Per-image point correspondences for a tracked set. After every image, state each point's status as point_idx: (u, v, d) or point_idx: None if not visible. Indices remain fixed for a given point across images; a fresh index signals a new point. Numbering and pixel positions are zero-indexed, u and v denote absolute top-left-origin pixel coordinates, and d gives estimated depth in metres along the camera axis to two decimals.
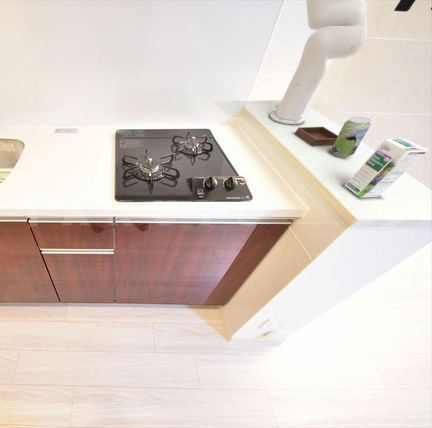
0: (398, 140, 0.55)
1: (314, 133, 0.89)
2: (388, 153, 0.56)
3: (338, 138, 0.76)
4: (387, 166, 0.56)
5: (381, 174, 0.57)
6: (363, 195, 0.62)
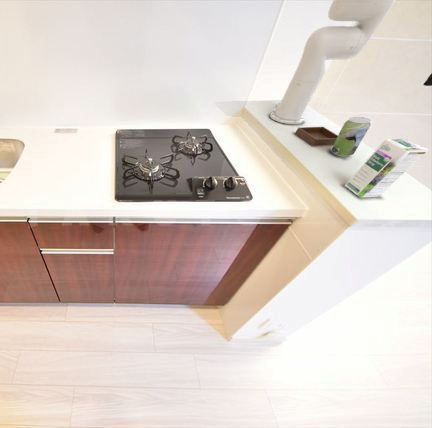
0: (398, 140, 0.55)
1: (314, 133, 0.89)
2: (388, 153, 0.56)
3: (338, 138, 0.76)
4: (387, 166, 0.56)
5: (381, 174, 0.57)
6: (363, 195, 0.62)
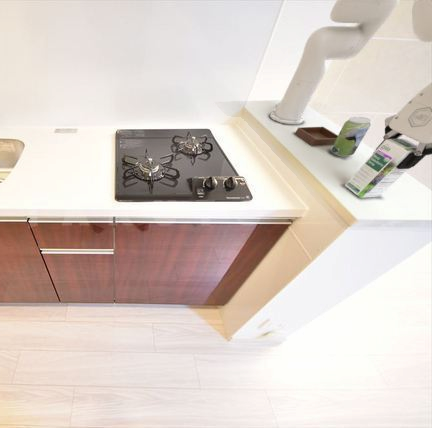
0: (398, 140, 0.55)
1: (314, 133, 0.89)
2: (388, 153, 0.56)
3: (338, 138, 0.76)
4: (387, 166, 0.56)
5: (381, 174, 0.57)
6: (363, 195, 0.62)
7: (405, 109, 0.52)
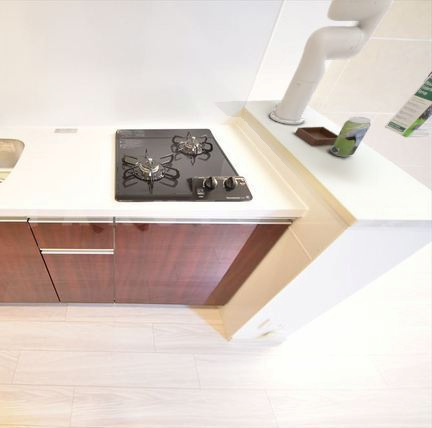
0: None
1: (314, 133, 0.89)
2: None
3: (338, 138, 0.76)
4: None
5: None
6: (410, 134, 0.52)
7: None
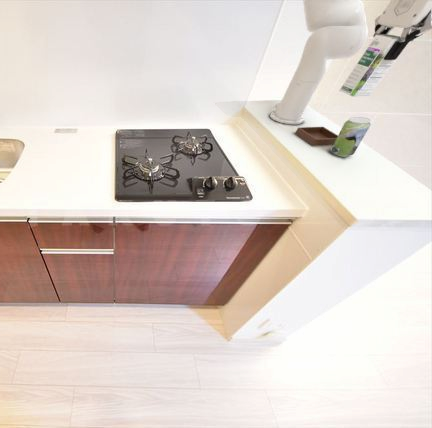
0: (386, 34, 0.63)
1: (314, 133, 0.89)
2: (377, 47, 0.63)
3: (338, 138, 0.76)
4: (376, 58, 0.63)
5: (371, 68, 0.65)
6: (355, 93, 0.69)
7: (392, 2, 0.60)
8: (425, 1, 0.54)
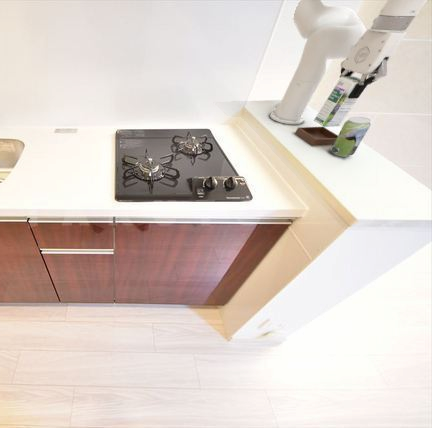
0: (350, 77, 0.73)
1: (314, 133, 0.89)
2: (342, 87, 0.74)
3: (338, 138, 0.76)
4: (341, 97, 0.74)
5: (338, 104, 0.75)
6: (326, 124, 0.80)
7: (352, 51, 0.70)
8: (377, 54, 0.64)
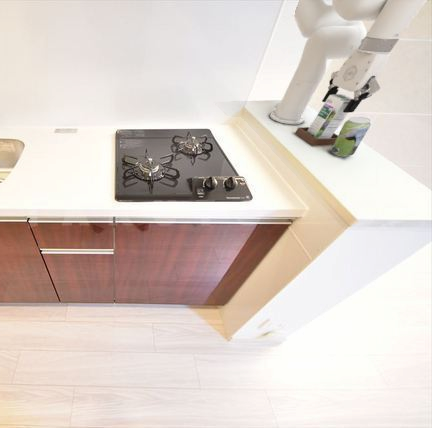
0: (338, 95, 0.77)
1: None
2: (331, 104, 0.78)
3: (338, 138, 0.76)
4: (330, 114, 0.78)
5: (327, 121, 0.79)
6: None
7: (341, 69, 0.74)
8: (363, 74, 0.68)
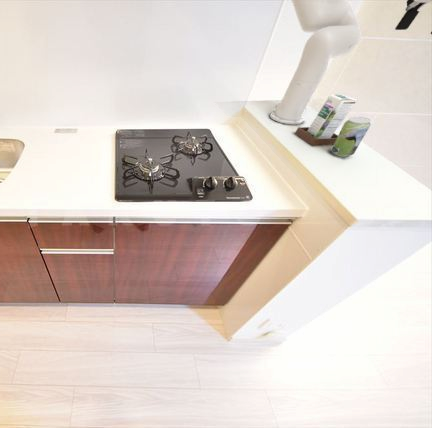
0: (338, 95, 0.77)
1: None
2: (331, 104, 0.78)
3: (338, 138, 0.76)
4: (330, 113, 0.78)
5: (327, 121, 0.79)
6: None
7: None
8: None
